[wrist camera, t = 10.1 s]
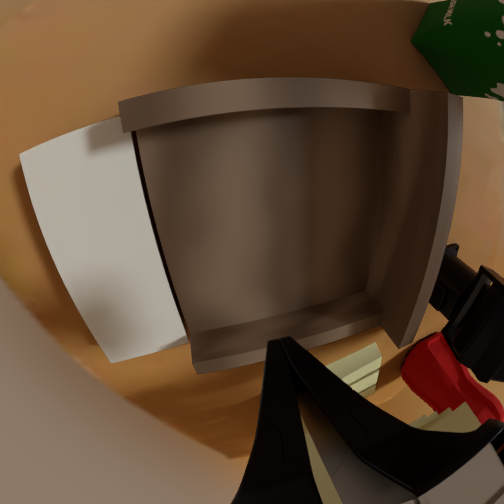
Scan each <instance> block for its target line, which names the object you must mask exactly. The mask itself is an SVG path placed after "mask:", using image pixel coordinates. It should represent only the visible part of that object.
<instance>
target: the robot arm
mask: <svg viewBox="0 0 504 504" xmlns="http://www.w3.org/2000/svg"><path fill="white" fill-rule="evenodd" d="M458 249H459V245H458V244H456V243H455V244H452V245H449V246H446V248H445V251H444V255H443V259H442V262H441V266H440V269H439V273H438V276H437V279H436V282H435V285H434V288H433V291H432V294H431V297H430V300H429V303H430V304H431V305H432V306H433V307H434V308H435V309H436V310H437V311H440V312H441V313H442V314H443V315H444V316H445V317H446V319H447V320H449V321H448V323H447V324H446V326H445V327H443V329H442V330H441V333H442V335H443V336H444V339H445V340H446V342H447V344H448V346H449V347H450V349H451V351H452V352H453V354H454V356H455V358H456V359H457V361H458V362H459V363H460V364H463V365H464V366H465V367H467V368H470V369H471V370H472V372H473V373H474V374H475V376H476V377H477V379H478V380H479V381H481V382H484V383H488V382H489V381H490V380H493V381H499V382H504V278H503V277H501V276H500V275H499V274H498V273H496V272H495V271H494V270H492V269H490V268H487V267H485V266H483V265H481V266H480V268H479V271H478V273H477V272H475V271H474V270H473V269H472V268H470V267H469V266H468V265H467V264H465V263H464V262H463V261H461V260H460V259H459V258H458V257H456V256H457V253H458ZM491 282H493V283H492V285H491V286H490V284H491ZM300 414H301V415H300ZM301 416H302V418H303V421H304V423H305V425H306V427H307V429H308V431H309V434H310V436H311V438H312V440H313V442H314V444H315V447H316V449H317V451H318V453H319V455H320V457H321V459H322V462H323V464H324V466H325V468H326V470H327V472H328V474H329V476H330V477H331V478H330V479H331V481H332V483H333V485H334V487H335V489H336V491H337V493H338V495H339V497H340V499H341V501H342V503H343V504H504V422H502V421H499V420H496V419H488V420H486V421H485V422H484V423H483V424H482V425H481V426H480V427H479V428H477V429H476V430H474V431H471V432H463V433H460V432H444V431H432V430H423V429H418V428H415V427H412V426H410V425H408V424H406V423H404V422H402V421H400V420H399V419H397V418H395V417H394V416H392V415H390V414H388V413H387V412H385V411H383V410H382V409H380V408H378V407H377V406H375V405H374V404H372V403H371V402H369V401H368V400H367V399H365V398H364V397H363V396H361V395H360V394H359V393H358V392H356V391H355V390H352V388H351V387H350V386H349V385H348V384H346V383H345V382H344V381H343V380H342V379H340V378H339V377H338V376H337V375H335V374H334V373H333V372H332V371H331V370H329V369H328V368H327V367H326V366H325V365H323V364H322V363H321V362H320V361H319V360H318V359H316V358H315V357H314V356H313V355H312V354H310V353H309V352H308V351H307V350H306V349H305V348H303V347H302V346H301V345H300V344H299V343H298V342H296V341H295V340H294V339H293V338H292V337H291V336H285V337H281V338H279V339H272V340H268V342H267V348H266V357H265V366H264V375H263V383H262V391H261V399H260V407H259V415H258V417H259V418H258V422H257V429H256V435H255V440H254V444H253V447H252V451H251V454H250V457H249V461H248V464H247V467H246V470H245V473H244V476H243V479H242V482H241V484H240V487H239V489H238V492H237V493H236V495H235V497H234V499H233V501H232V503H231V504H323V502H322V499H321V497H320V494H319V491H318V488H317V485H316V482H315V479H314V476H313V472H312V467H311V464H310V458H309V453H308V448H307V443H306V438H305V434H304V429H303V424H302V419H301Z"/></svg>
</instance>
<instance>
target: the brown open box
mask: <svg viewBox="0 0 504 504" xmlns="http://www.w3.org/2000/svg"><path fill="white" fill-rule="evenodd" d="M118 105H119V111H120V118H121V124H122V130H123V133H127V132H131V131H134V130H136V135H137V140H138V146H139V151H140V156H141V161H142V166H143V171H144V176H145V181H146V185H147V190H148V194H149V198H150V203H151V207H152V211H153V215H154V219H155V223H156V227H157V230H158V234H159V238H160V241H161V245H162V249H163V252H164V256H165V259H166V263H167V266H168V269H169V273H170V276H171V279H172V282H173V285H174V289H175V292H176V295H177V298H178V301H179V304H180V307H181V310H182V313H183V316H184V318H185V321H186V324H187V327H188V330H189V333H190V342H191V354H192V364H193V366H194V368H195V370H196V373H197V375H199V374H205V373H210V372H216V371H221V370H226V369H231V368H236V367H240V366H245V365H249V364H254V363H258V362H262V361H265V357H266V348H267V342H268V340H272V339H279V338H281V337H285V336H291V337H292V338H293V339H294V340H295V341H296V342H298V343H299V344H300V345H301V346H302V347H303V348H305V349H306V350H307V349H311V348H314V347H317V346H321V345H324V344H327V343H330V342H333V341H336V340H339V339H342V338H345V337H348V336H351V335H354V334H357V333H360V332H362V331H365V330H368V329H370V328H373V327H376V326H378V325H381V327H382V328H383V329H384V330H385V332H386V333H387V334H388V336H389V337H390V338H391V340H392V341H393V342H394V344H395V345H396V346H397V347H398V349H400V348H402V347H404V346H406V345H408V344H410V343H412V342H413V340H414V337H415V335H416V333H417V330H418V328H419V326H420V323H421V321H422V318H423V316H424V313H425V311H426V308H427V305H428V302H429V300H430V297H431V294H432V291H433V288H434V285H435V282H436V279H437V276H438V273H439V269H440V266H441V262H442V259H443V255H444V251H445V248H446V244H447V240H448V235H449V231H450V227H451V222H452V217H453V212H454V206H455V201H456V195H457V188H458V181H459V172H460V163H461V151H462V134H463V97H460V96H457V95H454V94H451V93H447V92H439V91H428V90H415V89H406V88H401V87H396V86H390V85H384V84H377V83H370V82H363V81H354V80H343V79H330V78H308V77H274V78H252V79H239V80H228V81H219V82H211V83H203V84H197V85H190V86H184V87H179V88H174V89H169V90H164V91H159V92H155V93H150V94H146V95H142V96H138V97H134V98H130V99H127V100H123V101H120V102H118Z"/></svg>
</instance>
